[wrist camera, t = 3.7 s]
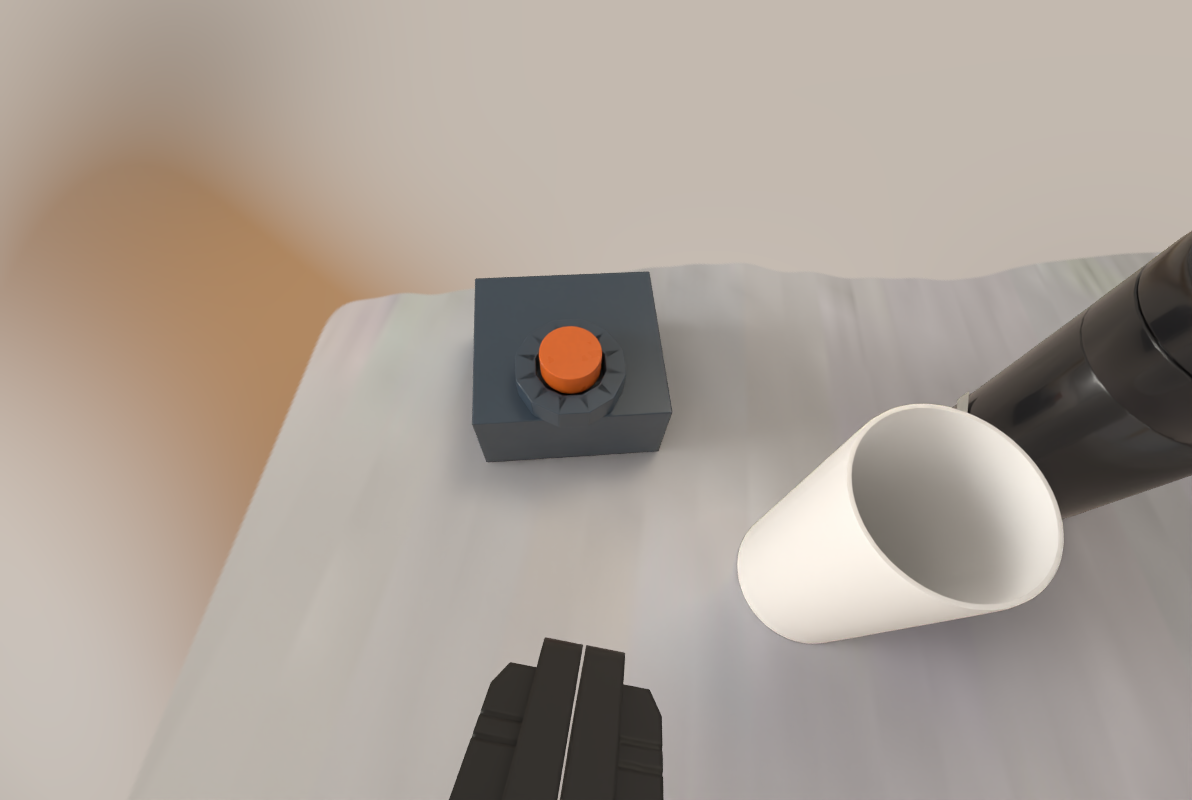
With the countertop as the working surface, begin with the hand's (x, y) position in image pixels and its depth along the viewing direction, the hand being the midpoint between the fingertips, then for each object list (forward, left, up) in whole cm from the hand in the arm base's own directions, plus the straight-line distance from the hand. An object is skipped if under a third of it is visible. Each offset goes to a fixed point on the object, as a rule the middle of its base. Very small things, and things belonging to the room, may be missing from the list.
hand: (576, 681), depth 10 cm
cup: (-15, -5, -25) cm, 29 cm away
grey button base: (-1, -20, -25) cm, 31 cm away
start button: (-1, -17, -17) cm, 24 cm away
